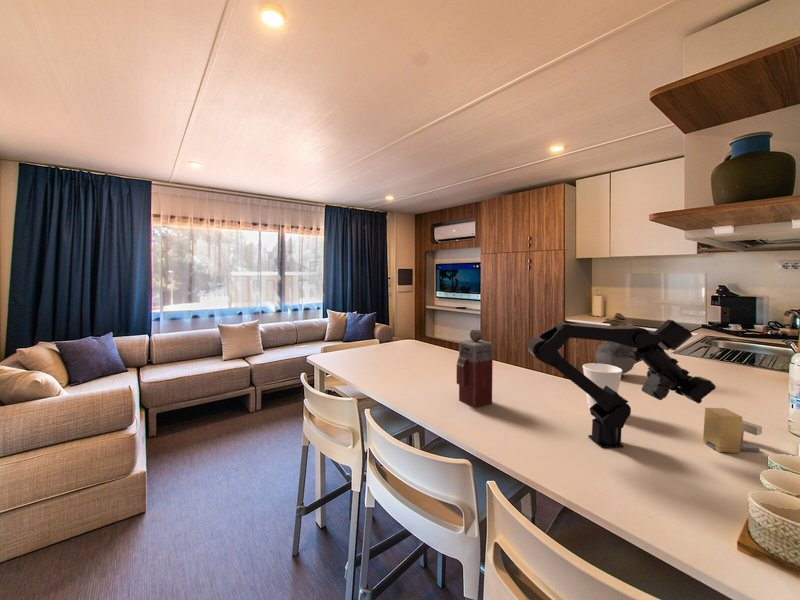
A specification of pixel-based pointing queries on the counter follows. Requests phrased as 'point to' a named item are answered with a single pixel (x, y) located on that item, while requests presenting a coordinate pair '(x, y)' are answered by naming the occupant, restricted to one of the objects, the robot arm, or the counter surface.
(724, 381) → the counter surface
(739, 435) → the tan rectangular block
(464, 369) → the dark red tall piece
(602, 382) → the cup
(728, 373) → the counter surface
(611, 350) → the pitcher
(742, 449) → the rig
